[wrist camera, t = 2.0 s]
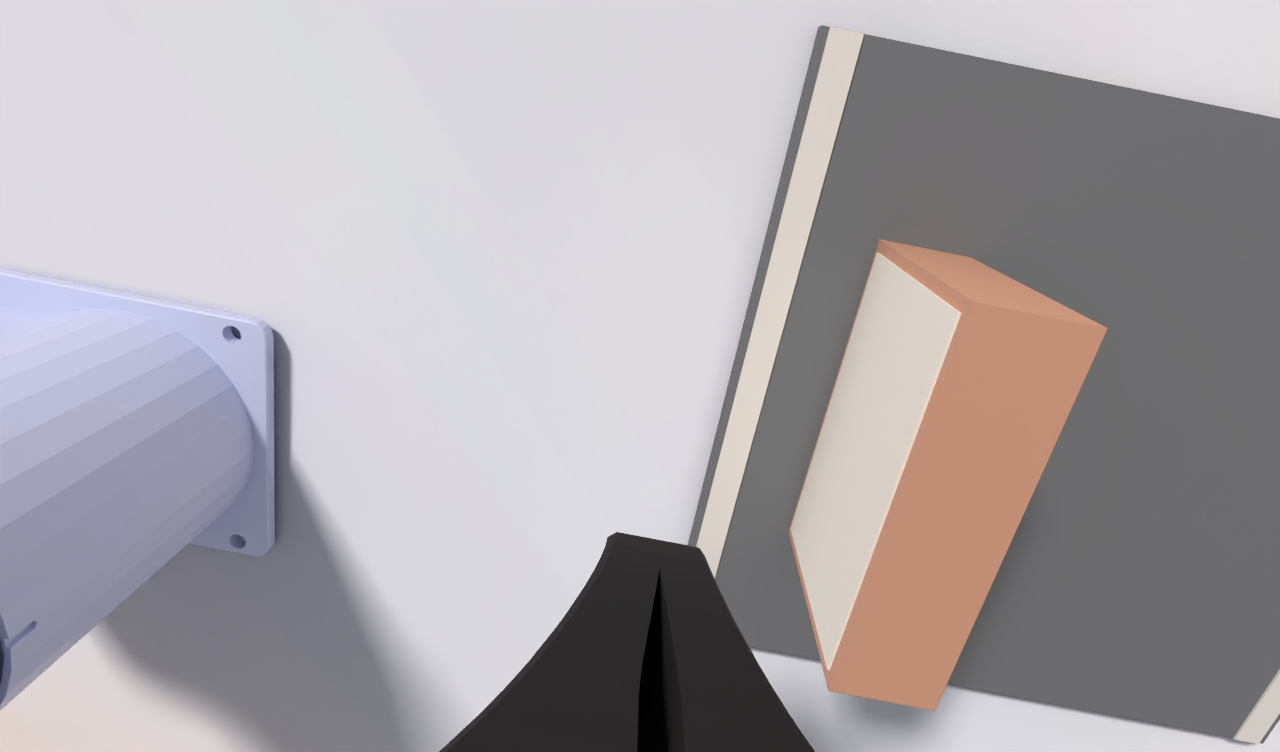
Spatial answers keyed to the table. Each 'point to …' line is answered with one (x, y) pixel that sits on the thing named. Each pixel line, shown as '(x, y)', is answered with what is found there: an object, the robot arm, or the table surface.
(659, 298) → the table surface
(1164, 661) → the mat
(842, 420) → the card box
